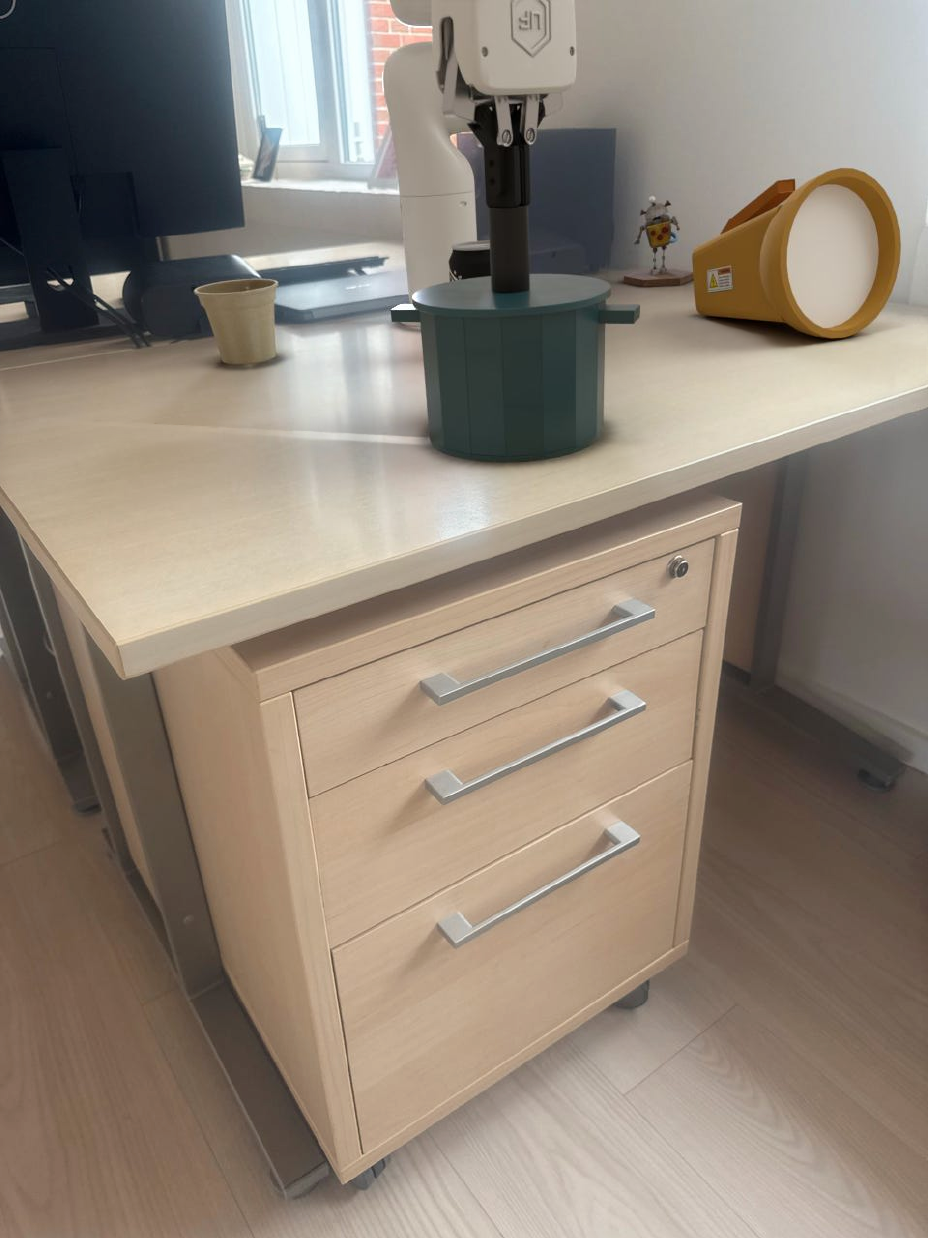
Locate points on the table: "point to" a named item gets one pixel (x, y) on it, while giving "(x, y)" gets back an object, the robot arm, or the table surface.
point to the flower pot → (241, 318)
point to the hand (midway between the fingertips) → (508, 205)
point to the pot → (515, 381)
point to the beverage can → (470, 260)
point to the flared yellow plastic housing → (804, 256)
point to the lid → (510, 280)
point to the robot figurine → (657, 236)
